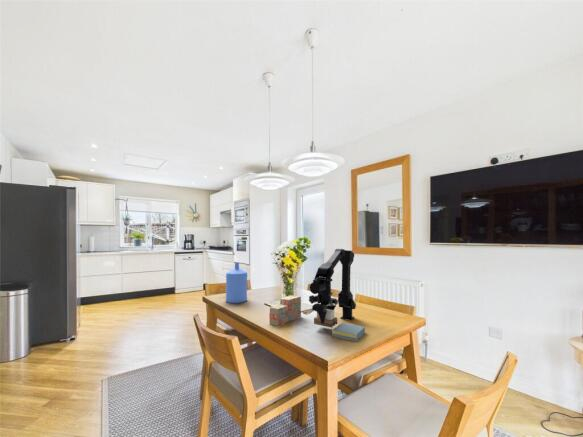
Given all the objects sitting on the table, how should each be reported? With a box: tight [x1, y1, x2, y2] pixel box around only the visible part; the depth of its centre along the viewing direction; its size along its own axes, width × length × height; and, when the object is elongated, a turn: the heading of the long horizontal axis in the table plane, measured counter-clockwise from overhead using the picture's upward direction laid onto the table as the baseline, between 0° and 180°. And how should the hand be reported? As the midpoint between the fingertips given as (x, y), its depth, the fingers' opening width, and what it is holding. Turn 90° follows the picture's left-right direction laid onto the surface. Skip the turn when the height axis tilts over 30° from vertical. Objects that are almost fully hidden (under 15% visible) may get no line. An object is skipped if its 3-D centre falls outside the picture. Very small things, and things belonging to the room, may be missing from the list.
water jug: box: [225, 262, 248, 304], centre depth 199 cm, size 16×16×28 cm
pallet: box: [313, 316, 338, 328], centre depth 137 cm, size 7×10×3 cm
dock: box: [331, 322, 366, 342], centre depth 130 cm, size 13×12×3 cm
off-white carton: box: [325, 309, 335, 320], centre depth 136 cm, size 4×4×4 cm
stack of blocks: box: [269, 294, 302, 327], centre depth 153 cm, size 21×6×12 cm, turn 142°
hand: (325, 321), depth 137 cm, fingers closed on pallet, 7 cm apart
